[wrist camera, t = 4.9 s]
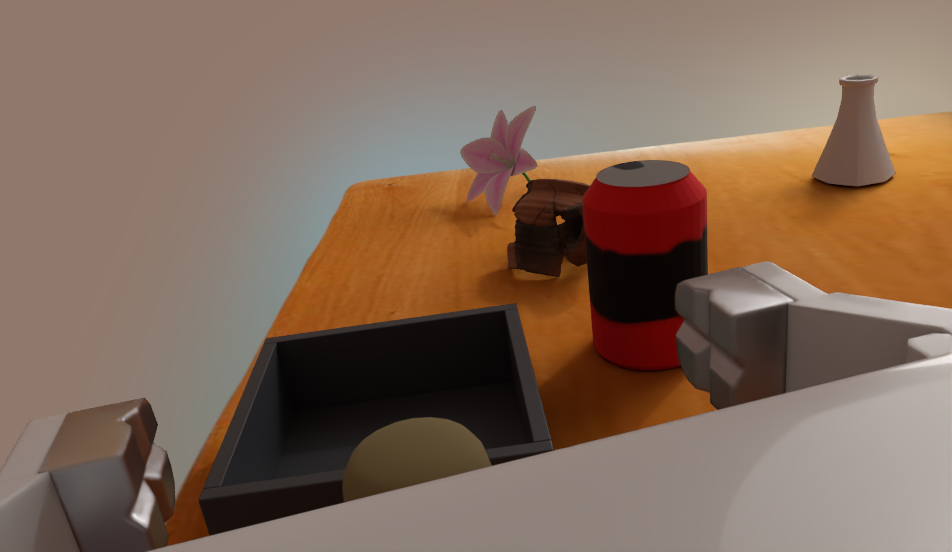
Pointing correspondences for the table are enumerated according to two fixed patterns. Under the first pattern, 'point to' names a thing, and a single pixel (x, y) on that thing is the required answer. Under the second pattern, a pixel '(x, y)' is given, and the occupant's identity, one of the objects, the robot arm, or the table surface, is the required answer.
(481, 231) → the table surface
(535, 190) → the broken clay pot
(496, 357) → the open box
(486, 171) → the lily
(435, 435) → the cork
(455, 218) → the table surface
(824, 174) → the flask
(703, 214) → the soda can
